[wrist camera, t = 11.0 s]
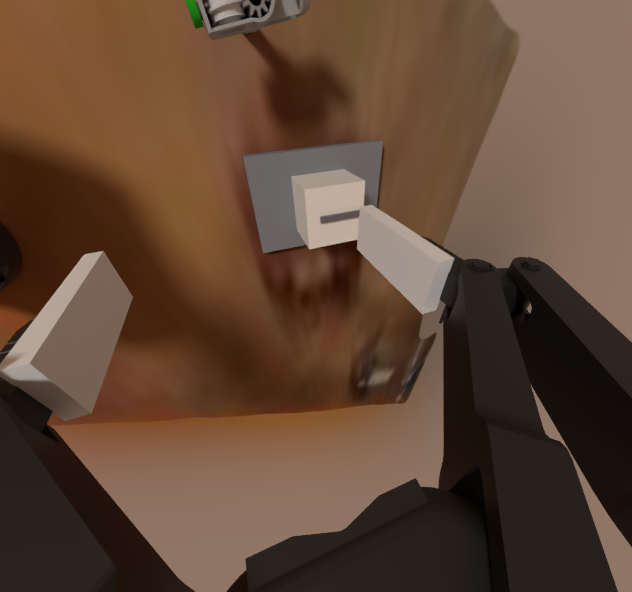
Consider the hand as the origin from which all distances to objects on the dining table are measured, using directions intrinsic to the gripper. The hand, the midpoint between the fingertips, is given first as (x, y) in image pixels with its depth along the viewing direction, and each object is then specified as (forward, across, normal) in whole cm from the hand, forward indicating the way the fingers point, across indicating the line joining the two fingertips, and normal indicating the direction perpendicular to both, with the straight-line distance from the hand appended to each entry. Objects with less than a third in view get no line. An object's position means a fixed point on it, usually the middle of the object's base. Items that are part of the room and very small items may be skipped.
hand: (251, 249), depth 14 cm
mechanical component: (+26, +5, +12) cm, 30 cm away
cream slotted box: (+24, +12, -7) cm, 28 cm away
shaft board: (+26, +12, -6) cm, 29 cm away
